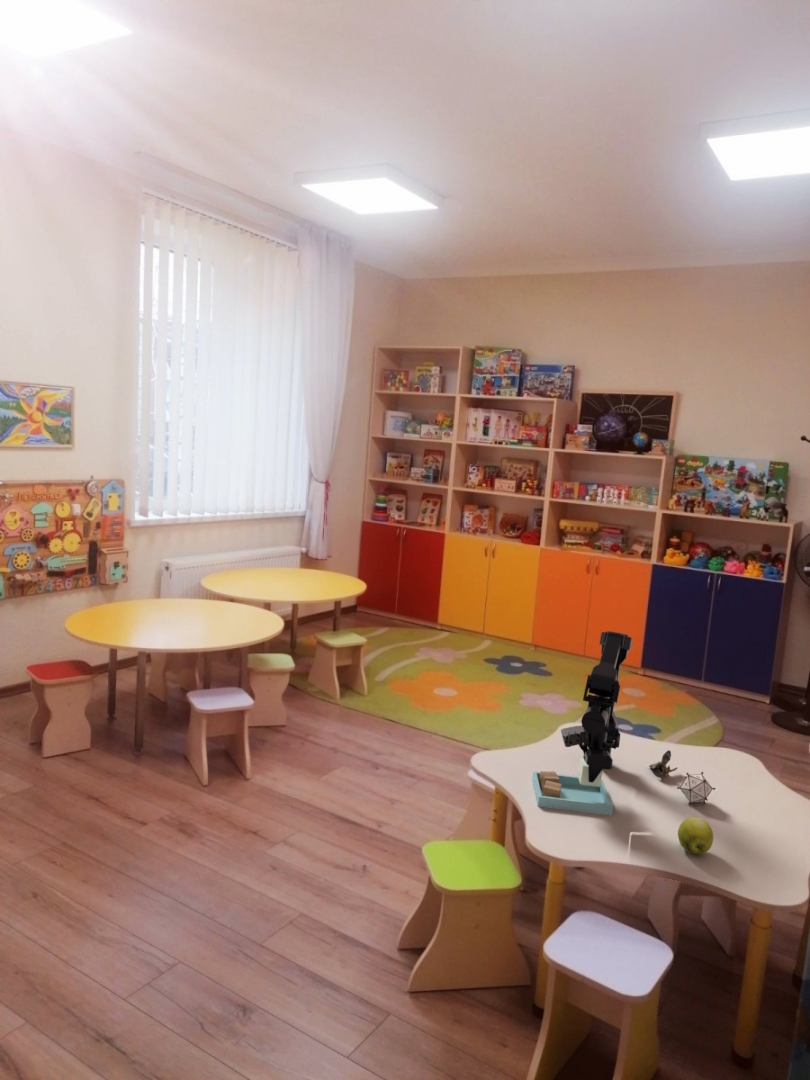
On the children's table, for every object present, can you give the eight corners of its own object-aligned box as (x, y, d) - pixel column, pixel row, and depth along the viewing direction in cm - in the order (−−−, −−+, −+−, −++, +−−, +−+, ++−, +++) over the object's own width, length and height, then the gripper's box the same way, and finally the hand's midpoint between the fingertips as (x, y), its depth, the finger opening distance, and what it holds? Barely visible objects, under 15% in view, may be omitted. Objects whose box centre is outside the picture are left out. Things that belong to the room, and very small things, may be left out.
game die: (684, 815, 209) (665, 782, 209) (698, 796, 215) (680, 764, 215) (713, 813, 202) (693, 780, 202) (726, 793, 208) (707, 761, 208)
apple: (706, 844, 187) (711, 813, 186) (713, 865, 179) (719, 832, 177) (672, 838, 189) (678, 807, 188) (678, 858, 180) (683, 826, 179)
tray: (531, 782, 211) (533, 771, 211) (600, 790, 210) (602, 779, 210) (537, 808, 197) (539, 797, 196) (611, 817, 196) (613, 806, 196)
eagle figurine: (683, 779, 220) (675, 760, 229) (673, 759, 218) (666, 741, 227) (657, 788, 222) (651, 769, 230) (647, 769, 220) (641, 750, 229)
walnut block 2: (544, 794, 203) (546, 780, 203) (559, 798, 202) (561, 784, 202) (541, 801, 200) (543, 786, 199) (557, 805, 198) (559, 790, 198)
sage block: (577, 775, 205) (580, 757, 205) (596, 777, 205) (599, 760, 204) (580, 784, 200) (583, 766, 200) (600, 786, 200) (602, 768, 199)
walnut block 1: (538, 785, 208) (540, 771, 208) (553, 785, 209) (555, 771, 208) (542, 792, 205) (544, 778, 204) (557, 793, 205) (559, 778, 204)
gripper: (560, 703, 210) (553, 758, 212) (571, 731, 191) (562, 790, 194) (602, 708, 209) (594, 763, 212) (616, 736, 191) (607, 795, 193)
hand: (589, 777), depth 203 cm, fingers closed on sage block, 5 cm apart
